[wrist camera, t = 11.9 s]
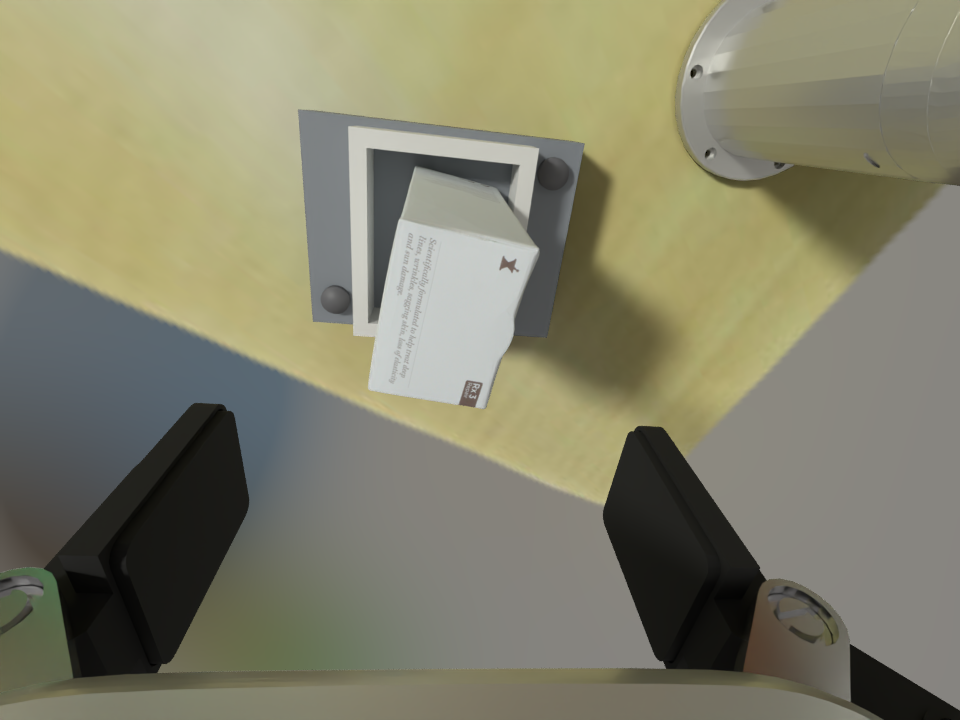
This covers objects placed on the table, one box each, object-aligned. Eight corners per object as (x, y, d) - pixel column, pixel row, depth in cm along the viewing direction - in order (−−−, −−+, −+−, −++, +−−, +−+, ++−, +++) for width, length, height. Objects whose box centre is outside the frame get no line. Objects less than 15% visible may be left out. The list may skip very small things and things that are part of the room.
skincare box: (414, 163, 29) (390, 200, 16) (503, 188, 30) (547, 241, 17) (392, 284, 33) (357, 393, 20) (472, 302, 34) (488, 417, 21)
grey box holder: (569, 140, 33) (598, 146, 27) (537, 318, 39) (555, 354, 33) (314, 110, 31) (282, 108, 25) (325, 302, 37) (301, 338, 31)
